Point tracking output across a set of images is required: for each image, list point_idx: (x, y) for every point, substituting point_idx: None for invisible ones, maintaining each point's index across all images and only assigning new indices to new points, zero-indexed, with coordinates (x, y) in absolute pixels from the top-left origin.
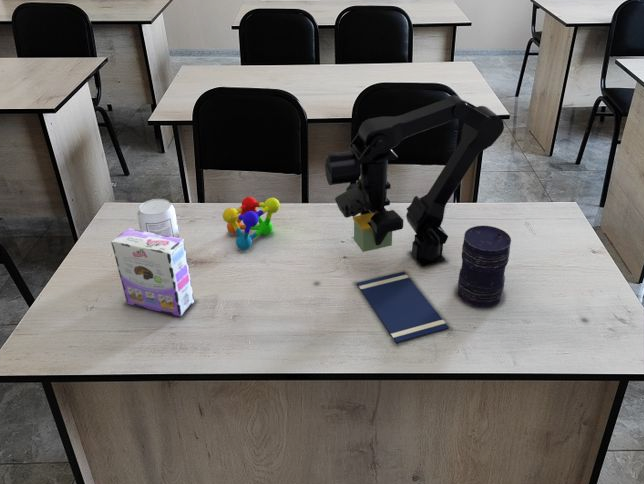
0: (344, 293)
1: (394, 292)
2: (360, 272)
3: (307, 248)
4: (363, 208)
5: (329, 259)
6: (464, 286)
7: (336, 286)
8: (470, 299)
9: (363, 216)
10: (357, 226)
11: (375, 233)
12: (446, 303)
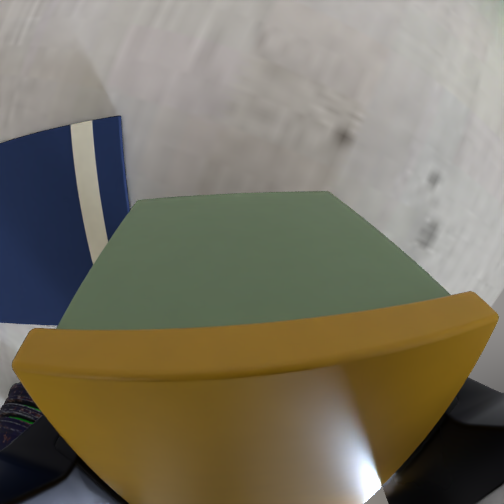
0: (81, 52)
1: (34, 250)
2: (202, 160)
3: (445, 41)
4: (473, 477)
5: (354, 69)
6: (15, 415)
7: (139, 27)
8: (8, 397)
9: (401, 436)
10: (310, 295)
11: (42, 417)
12: (11, 353)
